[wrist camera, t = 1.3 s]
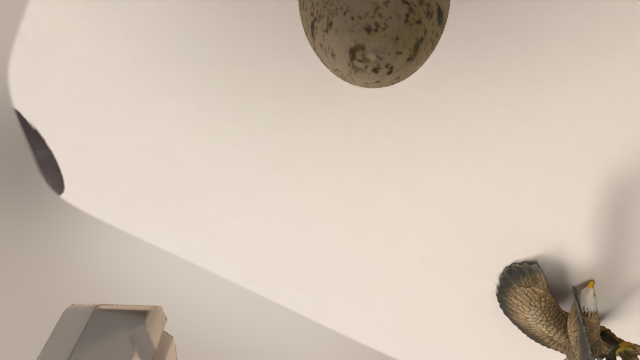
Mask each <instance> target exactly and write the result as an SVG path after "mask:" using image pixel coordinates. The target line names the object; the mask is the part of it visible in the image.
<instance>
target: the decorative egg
mask: <svg viewBox="0 0 640 360" xmlns="http://www.w3.org/2000/svg"><path fill="white" fill-rule="evenodd" d="M449 7H450V0H299V10H300V16H301V21H302V25H303V28H304V31H305V34H306V36H307V39H308V41H309V43H310V45H311V46H312V48H313V50H314V52H315V53H316V55H317V56H318V57H319V59H320V60H321V61H322V63H323V64H324V65H325V66H326V67H327V68H328V69H329V70H330V71H331V72H332V73H333V74H335V75H336V76H337V77H339V78H341V79H342V80H344V81H346V82H348V83H350V84H353V85H356V86H360V87H365V88H381V87H386V86H390V85H394V84H396V83H399V82H401V81H403V80H405V79H406V78H408V77H409V76H411V75H412V74H413V73H414V72H416V71H417V70H418V69H419V68H420V67H421V66H422V65H423V64H424V63H425V62H426V60H427V59H428V58H429V56H430V55H431V53H432V52H433V50H434V49H435V47H436V45H437V44H438V42H439V40H440V38H441V35H442V33H443V31H444V28H445V25H446V21H447V17H448V13H449Z"/></svg>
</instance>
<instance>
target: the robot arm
mask: <svg viewBox="0 0 640 360" xmlns="http://www.w3.org/2000/svg"><path fill="white" fill-rule="evenodd" d="M166 321H167V318H166V316H165V313H164V311H163V308H162V307H161V306H146V305H114V304H72V305H71V306H69V307H68V308H67V309H66V310H65V311H64V312H63V314H62V316H61V317H60V319H59V321H58V323H57V324H56V326H55V328H54V330H53V332H52V333H51V335H50V337H49V339H48V341H47V342H46V344H45V346H44V348H43V349H42V351H41V353H40V355H39V356H38V358H37V360H177V352H176V345H175V342H174V339H173V337H172V336H171V335H170V334H168V333H167V332H166V331H164V327H165V324H166Z"/></svg>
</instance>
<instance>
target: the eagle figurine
mask: <svg viewBox="0 0 640 360" xmlns="http://www.w3.org/2000/svg"><path fill="white" fill-rule="evenodd" d="M499 281H500V283H501V286H499V285H498V286H497V289H498V291H499V293H497V294H496V296H497V299H498V302H499V303H500V308H501V309H502V310H503V313H504V314H505V315H506V316H507V317H508V318H509V319H510V321H511V322H512V323H513V324H514V325H516V326H518V329H520V330H521V331H522V332H523V333H524V334H526V335H527V336H528V337H529V338H530V339H532V340H534V341H535V342H537V343H540V344H541V345H542V346H546V347H547V348H551V349H553V350H555V351H560V352H561V353H562V354H566V356H567V358H566V359H564V360H595V359H596V358H597V360H602V359H604V358H605V357H606V360H616V356H620V357H621V358H622V360H639V359H638V357H637V355H640V345H637V344H632V343H630V342H626V341H624V340H622V339H620V338H618V337H617V336H616V335H615V334H614V333H612V332H611V330H610V329H607V328H606V327H605V326H600V318H599V315H598V309H597V302H596V295H595V291H594V284H595V282H594V281H590V282H589V284H588V286H587V287H586V288H585V289H583V290H582V291H581V294H580V303H579V299H578V293H577V289H576V287H575V286H572V294H573V298H574V299H573V304H572V306H571V309H570V311H569V313H567V312H565V311H564V310H562V309H561V308H560V306H559V305H558V303H557V302H556V301H555V299H554V298H553V297H552V295H551V293H550V292H549V290H548V286H547V283H546V280H545V278H544V275H543V272H542V270H541V269H540V267H539V265H538V264H534V265H530V264H528V263H523V264H522V265H519V264H512V265H511V267H507V268H505V269H504V275H502V276H500V278H499Z"/></svg>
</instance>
